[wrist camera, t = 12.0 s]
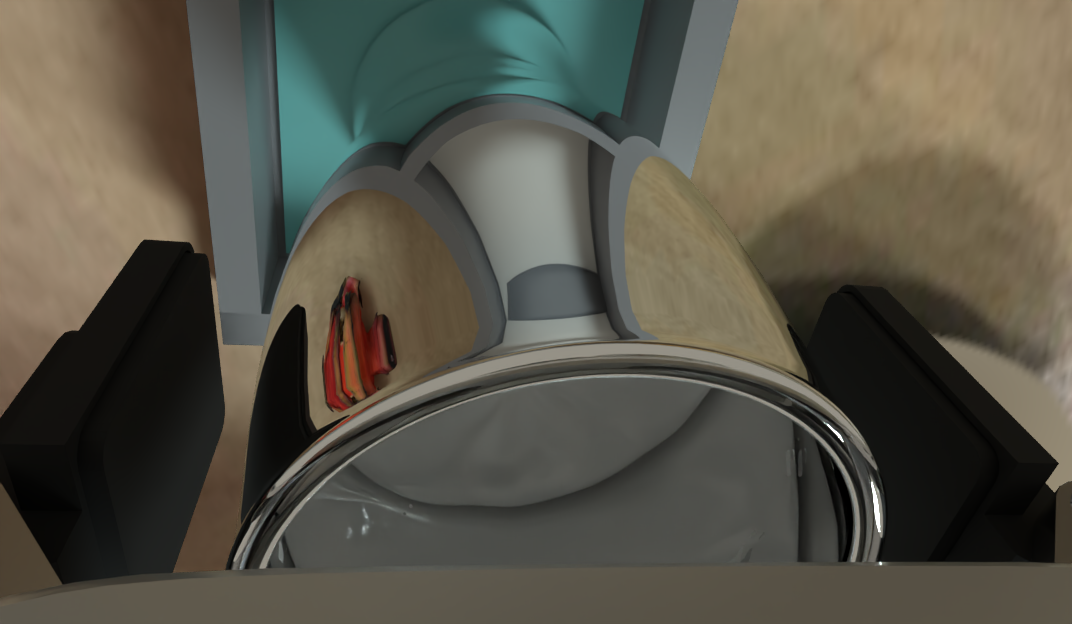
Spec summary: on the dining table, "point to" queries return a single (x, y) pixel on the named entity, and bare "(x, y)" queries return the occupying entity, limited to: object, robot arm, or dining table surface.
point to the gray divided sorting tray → (326, 93)
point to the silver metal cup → (531, 342)
